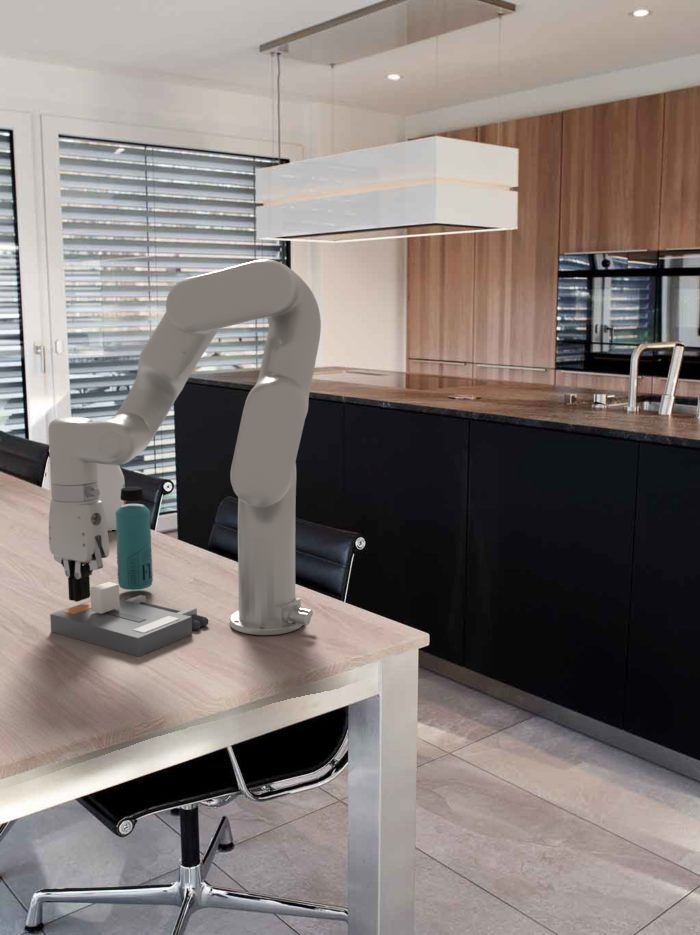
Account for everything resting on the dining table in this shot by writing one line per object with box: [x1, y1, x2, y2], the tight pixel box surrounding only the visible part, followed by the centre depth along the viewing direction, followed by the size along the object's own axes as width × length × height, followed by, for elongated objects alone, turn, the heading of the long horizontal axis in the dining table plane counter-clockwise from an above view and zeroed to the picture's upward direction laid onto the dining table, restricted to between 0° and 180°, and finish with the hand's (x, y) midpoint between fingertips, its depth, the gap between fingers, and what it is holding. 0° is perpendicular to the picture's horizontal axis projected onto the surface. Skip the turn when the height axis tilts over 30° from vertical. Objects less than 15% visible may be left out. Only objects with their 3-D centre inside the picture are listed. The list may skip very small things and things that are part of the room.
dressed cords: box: [123, 594, 209, 631], centre depth 163 cm, size 20×4×2 cm, turn 57°
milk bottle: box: [97, 463, 127, 532], centre depth 225 cm, size 8×8×20 cm
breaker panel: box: [49, 598, 193, 658], centre depth 155 cm, size 20×12×3 cm, turn 57°
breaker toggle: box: [90, 581, 120, 614], centre depth 157 cm, size 2×4×4 cm, turn 147°
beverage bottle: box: [115, 486, 154, 591], centre depth 175 cm, size 6×7×20 cm
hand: (79, 598), depth 160 cm, fingers closed
